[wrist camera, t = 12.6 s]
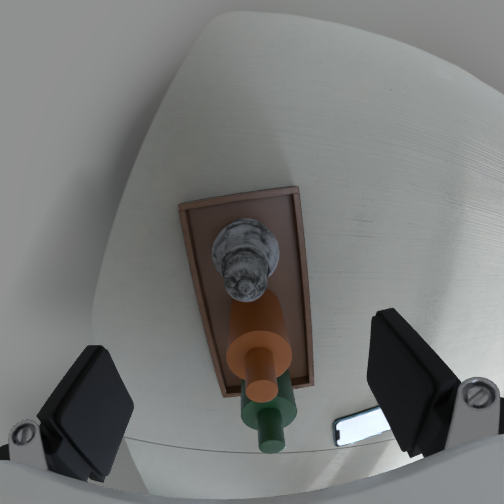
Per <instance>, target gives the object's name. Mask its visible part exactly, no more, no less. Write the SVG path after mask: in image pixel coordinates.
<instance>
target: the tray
mask: <svg viewBox="0 0 504 504" xmlns="http://www.w3.org/2000/svg"><path fill="white" fill-rule="evenodd" d="M178 208H179V214H180V219H181V225H182V230H183V235H184V240H185V245H186V250H187V255H188V260H189V265H190V270H191V274H192V279H193V283H194V288H195V292H196V297H197V301H198V305H199V309H200V314H201V318H202V322H203V326H204V330H205V334H206V338H207V342H208V345H209V349H210V353H211V357H212V360H213V364H214V368H215V371H216V375H217V378H218V382H219V385H220V389H221V392H222V396H223V398H225V397H236V396H241V378H239V377H238V376H236V375H235V374H234V373H233V372H232V371H231V369H230V368H229V366H228V364H227V360H226V353H227V343H228V333H229V323H230V314H231V305H232V301H233V299H234V298H232V297H231V296H230V295H229V294H228V292H227V291H226V289H225V286H224V278H223V277H222V276H221V275H220V274H219V273H218V271H217V269H216V268H215V266H214V263H213V259H212V247H213V244H214V240H215V239H216V237H217V235H218V234H219V232H220V231H221V230H223V229H224V228H225V227H226V226H227V225H228V224H229V223H231V222H233V221H235V220H237V219H241V218H251V219H254V220H257V221H259V222H260V223H262V224H263V225H264V226H265V227H267V228H268V229H269V230H270V231H271V232H272V233H273V234H274V236H275V238H276V240H277V242H278V246H279V250H280V251H279V261H278V264H277V267H276V269H275V270H274V272H273V273H272V274H271V275H270V276H269V277H268V278H267V279H268V282H267V287H266V288H267V289H269V290H270V291H272V292H273V293H274V294H275V295H276V296H277V298H278V300H279V303H280V306H281V310H282V314H283V318H284V322H285V326H286V330H287V334H288V338H289V342H290V346H291V350H292V360H291V363H290V365H289V367H288V370H289V374H290V379H291V384H292V389H298V388H304V387H309V386H314V365H313V343H312V325H311V309H310V295H309V282H308V270H307V259H306V248H305V238H304V229H303V219H302V211H301V202H300V194H299V187H298V186H288V187H280V188H273V189H265V190H258V191H251V192H244V193H237V194H231V195H224V196H218V197H212V198H206V199H200V200H194V201H189V202H183V203H181V204H178Z"/></svg>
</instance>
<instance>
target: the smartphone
mask: <svg viewBox="0 0 504 504" xmlns="http://www.w3.org/2000/svg"><path fill="white" fill-rule="evenodd" d="M333 426H334V439H335V446H337V447H341V446H344V445H348V444H351V443H354V442H357V441H360V440H363V439H366V438H369V437H372V436H374V435H377V434H380V433H382V432H385V431H387V430H390V429H391V428H390V426H389V424H388V422H387V420H386V418H385V416H384V414H383V412H382V410H381V408H380V406H378V407H376V408H373V409H370V410H367V411H364V412H361V413H358V414H355V415H352V416H349V417H346V418H342V419H339V420H337V421H336V422H335V423H334V425H333Z"/></svg>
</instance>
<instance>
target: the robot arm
mask: <svg viewBox="0 0 504 504" xmlns="http://www.w3.org/2000/svg"><path fill="white" fill-rule="evenodd" d="M367 382H368V385H369V387H370V389H371V391H372V393H373V394H374V396H375V398H376V400H377V402H378V404H379V406H380V408H381V410H382V412H383V414H384V416H385V418H386V420H387V422H388V424H389V426H390V428H391V430H392V432H393V434H394V436H395V438H396V440H397V442H398V444H399V446H400V448H401V450H402V451H403V452H406V451H407V452H408V455H409V457H410V458H412V457H414V456H417V455H419V454H421V453H422V454H423V456H424V458H423V459H420V460H418V461H415V462H413V463H410V464H407V465H405V466H402V467H399V468H397V469H394V470H391V471H388V472H385V473H382V474H378V475H375V476H372V477H368V478H365V479H362V480H358V481H354V482H351V483H347V484H343V485H339V486H334V487H330V488H325V489H320V490H315V491H310V492H304V493H298V494H291V495H283V496H274V497H264V498H251V499H225V500H212V499H186V498H173V497H163V496H154V495H147V494H140V493H133V492H128V491H122V490H118V489H113V488H108V487H104V486H99V485H96V484H91V483H88V482H87V479H88V477H89V478H90V479H91V480H95V481H99V482H104V479H105V476H108V475H109V473H110V471H111V468H112V465H113V462H114V460H115V457H116V454H117V451H118V449H119V446H120V443H121V441H122V438H123V435H124V433H125V430H126V427H127V425H128V422H129V420H130V417H131V415H132V412H133V409H134V404H133V401H132V399H131V397H130V395H129V393H128V391H127V389H126V387H125V385H124V383H123V381H122V379H121V377H120V375H119V373H118V371H117V369H116V367H115V365H114V362H113V360H112V358H111V356H110V353H109V352H108V350H107V349H105V348H104V347H103V346H101V345H89V346H87V347H86V348H85V349H84V351H83V352H82V353H81V355H80V356H79V357H78V358H77V360H76V361H75V362H74V364H73V365H72V367H71V368H70V369H69V371H68V372H67V373H66V375H65V376H64V377H63V379H62V380H61V381H60V383H59V384H58V386H57V387H56V388H55V390H54V391H53V393H52V394H51V395H50V397H49V398H48V400H47V401H46V403H45V404H44V406H43V407H42V408H41V410H40V412H39V413H38V414H37V418H38V419H39V420H40V422H41V424H40V425H38V424H37V423H36V422H35V421H33V420H28V419H27V420H22V421H21V422H18V423H17V424H16V425H14V426H13V428H12V429H11V431H10V433H9V438H8V439H9V443H8V444H6V445H3V446H1V447H0V504H504V398H502V397H500V392H499V389H498V387H497V385H496V384H494V383H493V382H492V381H491V380H489V379H487V378H482V377H473V378H469V379H467V380H465V381H463V382H461V381H460V380H459V379H458V378H457V376H456V375H455V374H454V373H453V372H452V371H451V369H450V368H449V367H448V366H447V365H446V364H445V363H444V361H443V360H442V359H441V358H440V357H439V356H438V355H437V354H436V353H435V351H434V350H433V349H432V348H431V347H430V346H429V345H428V344H427V343H426V342H425V341H424V339H423V338H422V337H421V336H420V335H419V334H418V333H417V332H416V331H415V330H414V329H413V328H412V327H411V326H410V325H409V323H408V322H407V321H406V320H405V319H404V318H403V317H402V316H401V315H400V314H399V313H398V312H397V311H396V310H395V309H394V308H389V309H385V310H380V311H377V313H376V316H373V317H372V320H371V335H370V348H369V359H368V368H367Z"/></svg>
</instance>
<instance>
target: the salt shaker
mask: <svg viewBox="0 0 504 504" xmlns="http://www.w3.org/2000/svg"><path fill="white" fill-rule="evenodd" d="M279 251H280V250H279V246H278V242H277V240H276V238H275V236H274V234H273V233H272V232H271V231H270V230H269V229H268V228H267V227H265V226H264V225H263V224H262V223H260V222H259V221H257V220H254V219H251V218H241V219H237V220H235V221H233V222H231V223H229V224H228V225H227V226H226V227H225V228H224V229H223V230H221V231H220V232H219V234H218V235H217V237H216V239H215V240H214V244H213V247H212V259H213V263H214V266H215V268H216V269H217V271H218V273H219V274H220V275H221V276H222V277H223V278H224V286H225V289H226V291H227V292H228V294H229V295H230V296H231V297H232V298H234V299H236V300H238V301H242V302H250V301H254V300H256V299H258V298H259V297H261V296H262V295H263V293H264V292H265V290H266V287H267V282H268V279H267V278H268V277H269V276H270V275H271V274H272V273H273V272H274V270H275V269H276V267H277V264H278V261H279Z"/></svg>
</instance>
